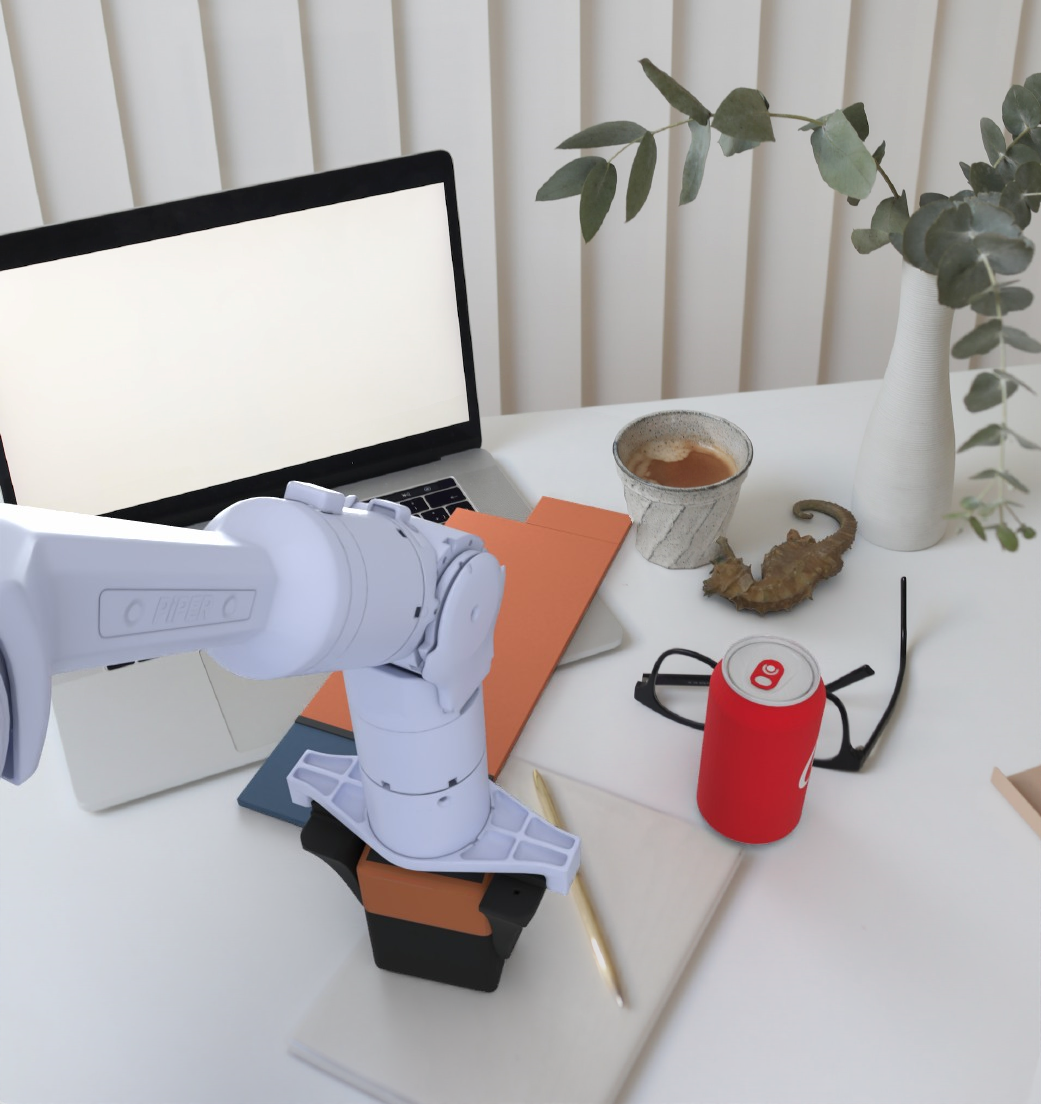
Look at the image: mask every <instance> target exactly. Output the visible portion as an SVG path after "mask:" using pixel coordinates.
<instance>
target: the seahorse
mask: <svg viewBox="0 0 1041 1104" xmlns="http://www.w3.org/2000/svg"><path fill="white" fill-rule="evenodd" d="M803 511H817V512H821V513H824V514H827V515H830V516H832V517H833V518H835V519H836V520H837V521H838V522H839V524H840V528H839V529H838V530H837V531H836V532H834V533H832V534H830V536H829V535H826V537H825V538H823V539H822V540H821V541H820V540H818V541H816V538H814V537H813V536H812V535H810V534H807V535H803V536H800V533H799V530H797V529H794V528H791V529H789V531H788V532H787V533H786V537H785V538H786V539H785V540H786V541H784V542H783V541H782V543H781V544H778V545H777V544H775V545H773V546H772V548H771V549H770V551H769V552H768V553H764V557H763V561H762V563H761V564H760V573H761V579H760V580H756V579H755V578H754V575H753V572H752V565H753V564H752V563H750V564H749V565H747V564H745V563H744V559H743V557H739V558H738V557H737V556H736V555H735V553H734V551H733V549H732V548H731V546H730V545H729V542H728V541H729V540H728V538H727V537H725V536H722V535H720V536H719V538H718V539H717V540H716V542H715V543H716V544H717V545H718V546H719V548H720V550H721V554H719V555H715V558H714V559H713V560H709V563H710V564H712V566H713V567H712V569H711V570H710V571H709V573H708V575H711V576H710V577H709V578H706V579H704V580H703V581H702V584H703V586H702V591H703V597H706V596H707V598H711V597H712V596H713V595H718V596H720V597H723V598H725V599H726V600H729V601H732V602H733V603H734V604H735V607H736V611H737V612H739V611H742V610H743V609H748V610H749V611H752V610H754V611H756V612H758V613H759V614H760V615H761V617H762V618H764V616H765V615H766V613H768V612H769V611H772V612H779V611H781V610H787V611H788V612H792V608H793V606H794V605H797V604H801V603H802V602H803V601H804V599H808V600H810V601H814V598H813V596H812V595H813V592H814V590H815V589H816V587H817V585H818V584H819V583H820V582H821V581H823V580H825V581H827V580H828V579H829V578H831V577H834V576H837V575H838V574H839V573H841V572H842V570H843V567H844V566H845V563H844V560H843V559H842V555H844V554H845V552H847V551H848V549H849V550H852V545H853V544H854V542H855V541H856V540H855V539H856V533H857V530H858V523H859V521H857V518H855V515H853V513H852V511H850V510H849V509H847V508H845V507H844V506H842V505H839V504H838V503H836V502H831V501H826V500H823V499H803V500H799V501H797V502H795V503H794V504H793V506H792V513H793V515H794V516H795V517H796V518H798V519H800V520H807V521H808V520H812V519H813V518H814V517H815V516H814V513H813V512H809V513H805V512H803Z"/></svg>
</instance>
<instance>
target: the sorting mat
mask: <svg viewBox="0 0 1041 1104" xmlns="http://www.w3.org/2000/svg"><path fill="white" fill-rule="evenodd" d="M629 515H630V514H628V513H623V512H618V511H614V510H609V509H604V508H601V507H595V506H592V505H586V504H582V503H578V502H574V501H569V500H564V499H558V498H555V497H550V496H547V495H542V496H541V498H540V500H539V501H538V502H537V504H536V505H535V507H534V508H533V510H532V511H531V513H530V514H529V516H528V517H527V519H526V520H525V522H524V521H518V520H513V519H510V518H505V517H500V516H497V515H492V514H488V513H483V512H478V511H475V510H471V509H466V508H461V507H456V508H455V510H454V511H453V512H452V514H451V515H450V516H449V518H448V519H447V520H446V521H445V523H444V524H443V525H444V526H448V527H451V528H454V529H457V530H460V531H464V532H467V533H470V534H473V535H477V536H478V537H480V538H481V539H482V540H483V541H484V543H485V544H484V546H483V547H484V548H487V550H488V553H491V554H493V555H494V556H495V557H496V558H497V560H498V562H499V565H500V568H501V566H502V565H504V566H505V585H504V592H503V598H502V602H501V606H500V610H499V614H498V617H497V620H496V624H495V628H494V635H493V647H494V657H493V658H492V660H491V668H490V671H489V673H488V674H487V676H486V677H485V678H484V680H483V681H482V686H483V702H484V717H485V732H486V749H487V765H488V779H489V780H491V781H492V782H494V783H496V780H497V779H498V776H499V775H500V773H501V771H502V769H503V767H504V765H505V764H506V762H507V760H508V758H509V756H510V754H511V753H512V750H513V749H514V747H515V745H516V743H517V741H518V739H519V737H520V735H521V734H522V732H523V730H524V729H525V726H526V724H527V723H528V720H529V718H530V717H531V715H532V713H533V711H534V709H535V707H536V706H537V703H538V702H539V700H540V698H541V696H542V695H543V692H544V691H545V689H546V688H547V685H548V683H549V681H550V679H551V677H552V676H553V674H554V672H555V670H556V668H557V667H558V664H559V663H560V662H561V661H560V660H561V659H562V657H563V655H564V653H565V651H566V649H567V647H568V646H569V644H570V642H571V640H572V638H573V637H574V635H575V633H576V631H577V629H578V627H579V625H580V623H581V621H582V620H583V617H584V616H585V614H586V612H587V611H588V609H589V606H590V605H591V603H592V601H593V599H594V597H595V595H596V593H597V591H598V589H599V588H600V586H601V584H602V582H603V580H604V578H605V576H606V575H607V573H608V571H609V569H610V567H611V566H612V563H613V562H614V560H615V559H616V556H617V554H618V553H619V550H620V548H621V547H622V545H623V543H624V541H625V539H626V538H627V536H628V534H629V531H630V529H631V528H632V526H633V524H632V521H631V518H630V517H629ZM306 750H312V751H316V752H319V753H324V754H330V755H344V756H358V755H357V749H356V744H355V738H354V732H353V727H352V721H351V716H350V710H349V705H348V699H347V693H346V688H345V682H344V677H343V671H335V672H331V674H330V675H329V676H328V678H326V680H325V682H324V683H323V684H322V685H321V687H320V688H319V690H318V691H317V692H316V694H315V695H314V696H313V697H312V699H311V700H310V702H309V703H308V704H307V706H306V707H305V708H304V709H303V711H302V712H301V713H300V714H299V715H297V717H296V718H295V720H294V723H293V724H292V725H291V727H290V728H289V729H288V731H286V733H285V735H284V736H282V739H281V740H280V741H279V742H278V744H277V745H276V746H275V747H274V749H273V750H272V752H271V753H270V754H269V756H268V757H267V759H266V760H265V761H264V762H263V763H262V765H261V766H260V768H259V769H258V770H257V772H256V773H255V774H254V775H253V777H252V778H251V779H250V781H249V782H248V783H247V785H246V786H245V788H243V790H242V791H241V792H240V794H239V795H238V797H237V798H236V801H237V805H238V806H241V807H244V808H247V809H249V810H253V811H255V812H258V813H261V814H263V815H266V816H270V817H272V818H275V819H278V820H282V821H284V822H286V823H289V824H292V825H296V826H298V827H301V828H303V827H304V826H305V824H306V823H307V821H308V820H309V818H310V817H311V814H310V812H311V810H312V806H311V807H304V806H301V805H298V804H295V803H293V802H292V798H291V794H290V790H289V786H288V782H287V776H288V775H289V774H290V772H291V771H292V769H293V768H294V767H295V765H296V764H297V763H298V761H299V760H300V758H301V757H302V756H303V754H304V753H305V751H306Z"/></svg>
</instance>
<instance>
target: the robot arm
mask: <svg viewBox="0 0 1041 1104" xmlns="http://www.w3.org/2000/svg"><path fill="white" fill-rule="evenodd" d="M484 544H485V543H484V541H483V540H482V539H481V538H480V537H478V536H477V535H473V534H470V533H467V532H464V531H460V530H457V529H454V528H451V527H448V526H444V524H441V523H438V522H435V521H431V520H428V519H425V518H422V517H419V516H415V515H412V511H411V509H410V508H409V507H408V506H407V505H404V504H399V503H396V502H394V501H390V500H387V499H381V498H372V499H371V500H370V501H369V502H363V501H361V500H359V498H358V496H357V495H355V494H350V495H348V496H345V495H344V493H342V492H338V491H335V490H332V489H329V488H325V487H323V486H319V485H316V484H314V483H313V484H312V483H310V482H302V481H296V480H291V481H289V482H288V483H287V484H286V489H285V492H284V496H283V498H279V497H273V496H272V497H271V496H257V497H251V498H248V499H244V500H239V501H237V502H235V503H233V504H231V505H230V506H228V507H226V508H225V509H223V510H222V511H220V512H219V513H218V514H217V515H215V517H213V519H212V520H210V521H209V522H208V523H207V525H206V526H205V527H204V528H203V530H200V529H194V528H185V527H178V526H172V525H171V526H170V525H164V524H157V523H150V522H142V521H135V520H127V519H121V518H113V517H112V518H111V517H107V516H98V515H92V514H84V513H76V512H68V511H62V510H55V509H48V508H40V507H33V506H26V505H18V504H12V503H4V502H0V779H1V780H4V781H6V782H9V783H11V785H14V786H17V787H18V786H21V785H23V784H24V783H25V782H26V781H27V780H29V779H30V778H31V777H32V776H33V775H34V774H35V773H36V771H37V769H38V767H39V764H40V761H41V757H42V754H43V749H44V745H45V741H46V737H47V733H48V727H49V722H50V715H51V707H52V706H51V705H52V687H53V686H52V683H53V682H52V679H53V677H52V676H55V675H59V674H60V675H61V674H66V673H73V672H78V671H83V670H85V671H86V670H89V669H96V668H102V667H107V666H114V665H120V664H126V663H133V662H137V661H144V660H151V659H156V658H163V657H170V656H174V655H181V654H186V653H193V652H198V651H205V652H206V654H207V655H208V656H209V657H210V658H211V659H212V660H213V661H214V662H216V664H218V665H219V666H220V667H222V668H223V669H224V670H226V671H228V672H229V673H231V674H233V675H236V676H238V677H241V678H243V679H244V678H245V679H249V680H256V681H271V680H279V679H280V680H281V679H287V678H295V677H302V676H310V675H317V674H319V675H320V674H327V673H332V672H335V671H343V677H344V682H345V688H346V693H347V699H348V705H349V710H350V716H351V721H352V727H353V732H354V738H355V744H356V749H357V755H358V756H344V755H330V754H324V753H319V752H316V751H312V750H306V751H305V753H304V754H303V756H302V757H301V758H300V760H299V761H298V763H297V764H296V765H295V767H294V768H293V769H292V771H291V772H290V774H289V775H288V776H287V782H288V786H289V790H290V794H291V798H292V802H293V803H295V804H298V805H301V806H304V807H311V806H312V810H311V812H310V814H311V817H310V818H309V820H308V821H307V823H306V824H305V826H304V827H302V829H301V831H300V835H299V838H300V843H301V847H302V848H301V849H303V850H304V851H306V852H308V853H310V854H312V855H314V856H315V857H317V858H319V859H320V860H321V861H322V862H324V863H325V864H326V865H328V866H329V867H330V868H331V869H332V870H333V871H334V872H335V873H336V874H337V875H338V876H339V877H340V878H341V880H342V881H343V882H344V883H345V885H346V886H347V887H348V888H349V890H350V891H351V892H352V894H353V895H354V897H355V898H356V900H357V901H358V902H359V904H360V905H361V906H362V907H363V908H364V905H363V900H362V895H361V890H360V885H359V880H358V875H357V865H358V862H359V860H360V857H361V855H362V853H363V850H364V848H365V846H366V843H367V844H368V845H369V846H370V847H372V848H373V849H374V850H375V851H376V852H378V853H379V854H380V855H381V856H382V857H384V858H385V859H386V860H388V861H389V862H391V863H393V864H395V865H397V866H400V867H403V868H405V869H410V870H416V871H441V872H493V873H495V874H494V876H493V878H492V880H491V882H490V884H489V886H488V888H487V890H486V892H485V894H484V896H483V898H482V900H481V902H480V904H479V911H480V912H481V913H483V914H484V915H485V916H486V918H487V919H488V921H489V923H490V926H491V929H492V940H493V945H494V948H495V951H496V954H497V956H498V957H501V958H504V959H505V960H509V959H510V958H511V956H512V955H513V952H514V950H515V947H516V945H517V943H518V941H519V938H520V936H521V933H522V931H523V929H524V928H527V927H528V926H529V924H530V923H531V921H532V920H533V918H534V916H535V915H536V913H537V912H538V909H539V907H540V904H541V902H542V900H543V898H544V895H545V893H546V891H547V890H549V891H550V892H554V893H556V894H559V895H562V896H568V894H569V893H570V889H571V887H572V885H573V883H574V881H575V878H576V876H577V873H578V871H579V868H580V866H581V863H582V837H581V836H580V835H576V834H574V833H571V832H568V831H566V830H564V829H562V828H560V827H558V826H556V825H555V824H552V823H551V822H549V821H548V820H546V819H545V818H544V817H542V816H541V815H539V814H538V813H537V812H535V811H534V810H533V809H531V808H530V807H528V806H527V805H526V804H525V803H523V802H522V801H520V800H519V799H517V798H516V797H515V796H513V795H512V794H510V793H509V792H507V791H506V790H505V789H503V788H502V787H500V786H499V785H498V784H497V783H496V782H492V781H491V780H489V779H488V765H487V749H486V732H485V717H484V702H483V686H482V681H483V680H484V678H485V677H486V676H487V674H488V673H489V671H490V668H491V660H492V658H493V657H494V647H493V635H494V628H495V624H496V620H497V617H498V614H499V610H500V606H501V602H502V598H503V592H504V585H505V566H504V565H502V566H501V568H500V565H499V562H498V560H497V558H496V557H495V556H494V555H493V554H491V553H488V550H487V548H484V547H483V546H484Z"/></svg>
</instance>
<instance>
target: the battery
mask: <svg viewBox="0 0 1041 1104" xmlns="http://www.w3.org/2000/svg"><path fill="white" fill-rule="evenodd" d="M494 874H495V873H493V872H441V871H416V870H410V869H405V868H403V867H400V866H397V865H395V864H393V863H391V862H389V861H388V860H386V859H385V858H384V857H382V856H381V855H380V854H379V853H378V852H376V851H375V850H374V849H373V848H372V847H370V846H369V845H368V844H367V843H366V846H365V848H364V850H363V853H362V855H361V857H360V860H359V862H358V865H357V875H358V880H359V885H360V890H361V895H362V900H363V905H364V907H363V910H364V915H365V920H366V925H367V930H368V936H369V940H370V945H371V950H372V951H371V952H372V956H373V961H374V964H375V966H376V967H377V968H378V969H380V970H383V971H387V972H392V973H396V974H400V975H405V976H409V977H415V978H419V979H423V980H428V981H433V982H436V983H441V984H446V985H451V986H455V987H459V988H464V989H468V990H473V991H477V992H482V993H487V994H489V993H494V992H495V991H496V990H497V989H498V987H499V984H500V981H501V976H502V972H503V970H504V966H505V962H506V959H504V958H501V957H498V956H497V954H496V951H495V948H494V945H493V940H492V929H491V926H490V923H489V921H488V919H487V918H486V916H485V915H484V914H483V913H481V912H480V911H479V904H480V902H481V900H482V898H483V896H484V894H485V892H486V890H487V888H488V886H489V884H490V882H491V880H492V878H493V876H494Z"/></svg>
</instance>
